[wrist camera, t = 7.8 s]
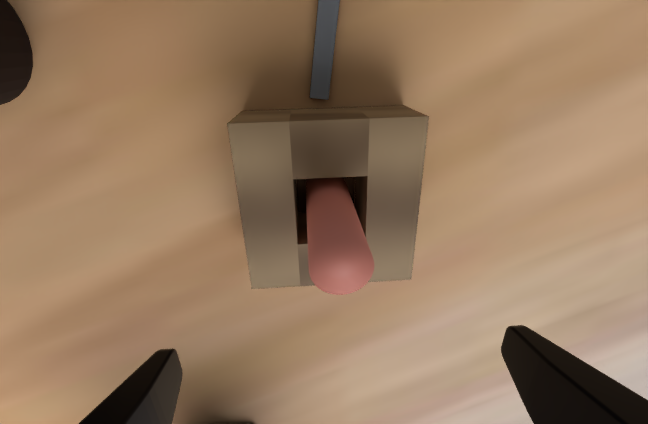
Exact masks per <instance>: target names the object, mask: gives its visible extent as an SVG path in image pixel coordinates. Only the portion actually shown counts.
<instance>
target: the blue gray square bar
mask: <svg viewBox="0 0 648 424" xmlns="http://www.w3.org/2000/svg"><path fill="white" fill-rule="evenodd" d="M339 2H340V0H319V1H318V12H317V23H316V34H315V45H314V56H313V66H312V77H311V88H310V98H318V99H327V100H328V99H329V90H330V81H331V72H332V64H333V55H334V46H335V37H336V29H337V20H338V11H339Z"/></svg>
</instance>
